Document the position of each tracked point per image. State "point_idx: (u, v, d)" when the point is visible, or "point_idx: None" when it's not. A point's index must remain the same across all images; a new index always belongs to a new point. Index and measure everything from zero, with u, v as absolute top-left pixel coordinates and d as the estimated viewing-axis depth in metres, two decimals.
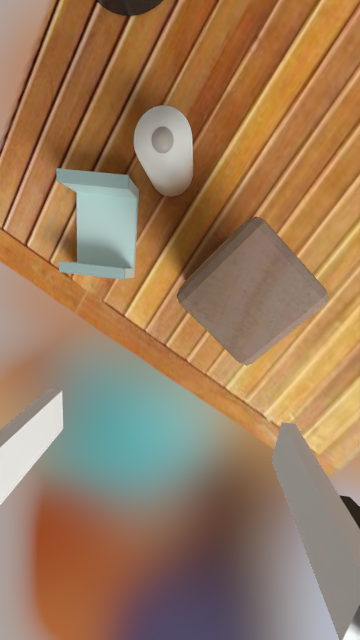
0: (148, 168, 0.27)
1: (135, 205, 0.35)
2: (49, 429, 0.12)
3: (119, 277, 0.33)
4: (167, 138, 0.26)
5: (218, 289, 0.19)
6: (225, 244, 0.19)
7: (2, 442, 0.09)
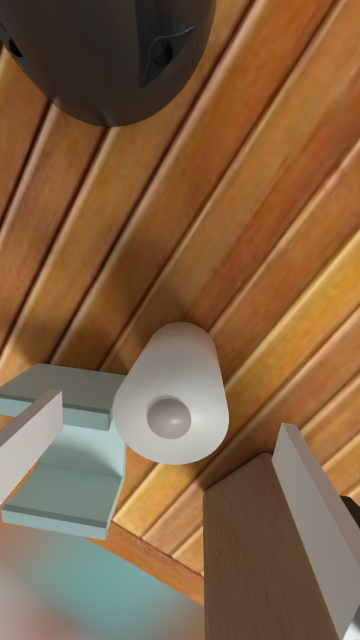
0: (141, 454, 0.14)
1: None
2: (49, 429, 0.12)
3: (98, 537, 0.21)
4: (179, 420, 0.13)
5: None
6: None
7: (2, 442, 0.09)
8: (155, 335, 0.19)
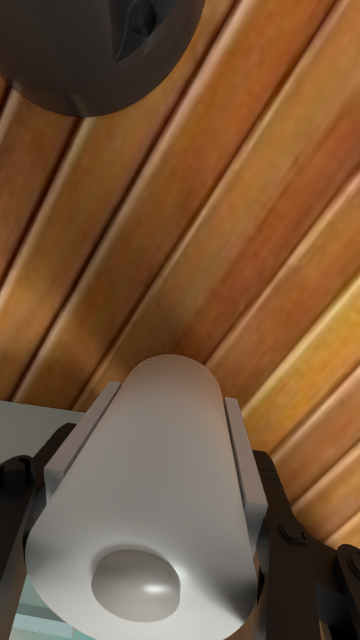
0: (88, 632, 0.07)
1: None
2: None
3: (62, 635, 0.16)
4: (155, 593, 0.06)
5: None
6: None
7: (91, 423, 0.11)
8: (131, 379, 0.13)
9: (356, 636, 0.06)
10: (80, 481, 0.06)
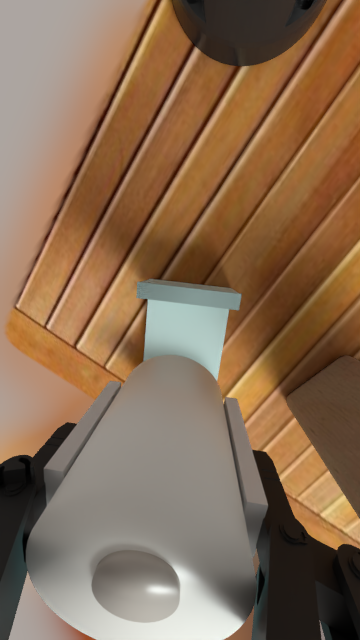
0: (88, 632, 0.07)
1: (227, 309, 0.27)
2: None
3: None
4: (155, 594, 0.06)
5: None
6: None
7: (91, 423, 0.11)
8: (131, 379, 0.13)
9: (356, 636, 0.06)
10: (80, 482, 0.06)
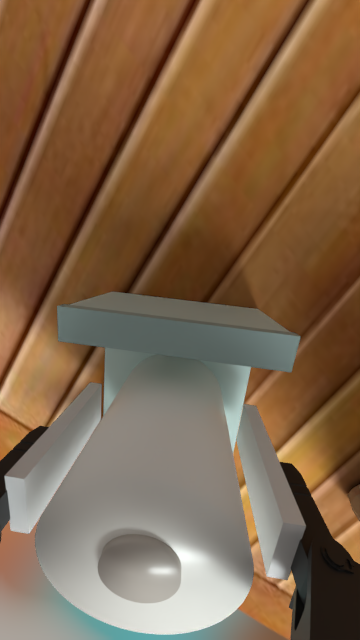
0: (94, 614, 0.08)
1: None
2: (92, 419, 0.13)
3: None
4: (158, 576, 0.07)
5: None
6: None
7: (63, 427, 0.10)
8: (133, 376, 0.13)
9: None
10: (87, 470, 0.07)
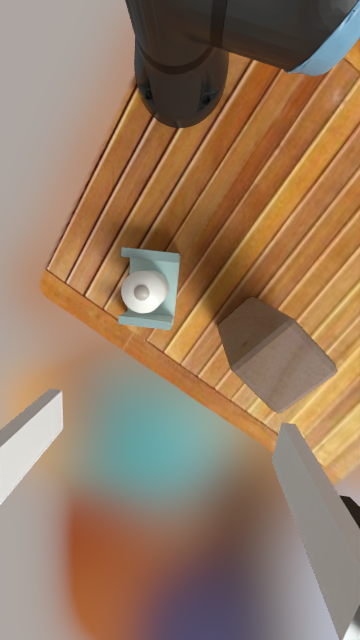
0: (132, 309, 0.37)
1: (178, 268, 0.44)
2: (49, 429, 0.12)
3: (167, 328, 0.42)
4: (145, 292, 0.36)
5: (261, 364, 0.27)
6: (266, 334, 0.27)
7: (2, 442, 0.09)
8: None
9: None
10: None
